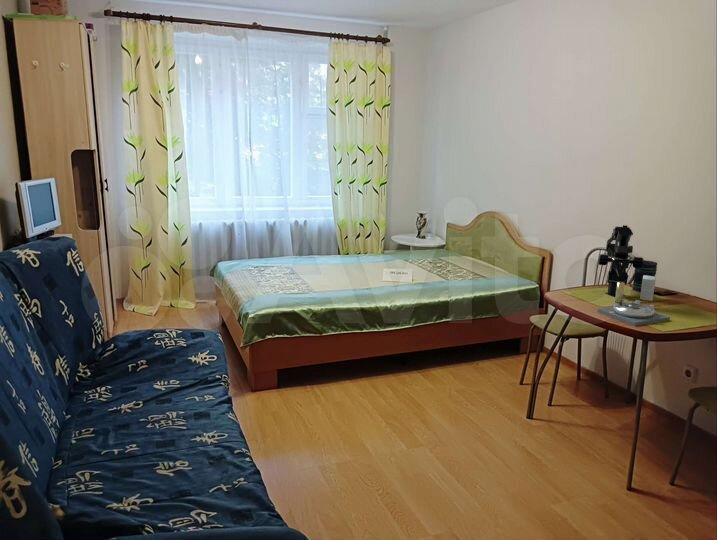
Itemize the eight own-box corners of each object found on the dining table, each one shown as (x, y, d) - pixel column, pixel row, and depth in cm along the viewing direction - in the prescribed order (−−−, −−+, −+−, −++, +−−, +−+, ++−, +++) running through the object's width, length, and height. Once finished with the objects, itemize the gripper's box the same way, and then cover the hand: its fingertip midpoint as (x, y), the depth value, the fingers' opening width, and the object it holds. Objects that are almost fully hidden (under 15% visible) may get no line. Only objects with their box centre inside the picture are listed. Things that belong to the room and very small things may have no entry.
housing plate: (597, 312, 236) (597, 308, 236) (631, 307, 243) (631, 303, 243) (634, 326, 218) (634, 322, 218) (669, 320, 225) (670, 316, 225)
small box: (640, 295, 262) (643, 275, 260) (653, 297, 260) (656, 276, 257) (639, 299, 256) (642, 278, 253) (652, 301, 253) (655, 279, 250)
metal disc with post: (604, 309, 235) (607, 282, 232) (631, 305, 240) (635, 279, 237) (634, 320, 220) (638, 291, 217) (662, 315, 226) (666, 288, 223)
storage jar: (658, 292, 267) (662, 263, 264) (641, 293, 265) (645, 264, 262) (643, 287, 277) (647, 259, 273) (627, 288, 275) (631, 260, 271)
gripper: (601, 237, 250) (598, 264, 242) (645, 240, 242) (644, 268, 235) (599, 250, 258) (597, 277, 251) (642, 254, 251) (641, 281, 244)
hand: (619, 276), depth 245 cm, fingers closed
